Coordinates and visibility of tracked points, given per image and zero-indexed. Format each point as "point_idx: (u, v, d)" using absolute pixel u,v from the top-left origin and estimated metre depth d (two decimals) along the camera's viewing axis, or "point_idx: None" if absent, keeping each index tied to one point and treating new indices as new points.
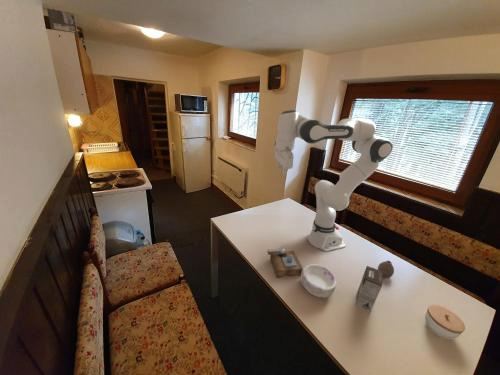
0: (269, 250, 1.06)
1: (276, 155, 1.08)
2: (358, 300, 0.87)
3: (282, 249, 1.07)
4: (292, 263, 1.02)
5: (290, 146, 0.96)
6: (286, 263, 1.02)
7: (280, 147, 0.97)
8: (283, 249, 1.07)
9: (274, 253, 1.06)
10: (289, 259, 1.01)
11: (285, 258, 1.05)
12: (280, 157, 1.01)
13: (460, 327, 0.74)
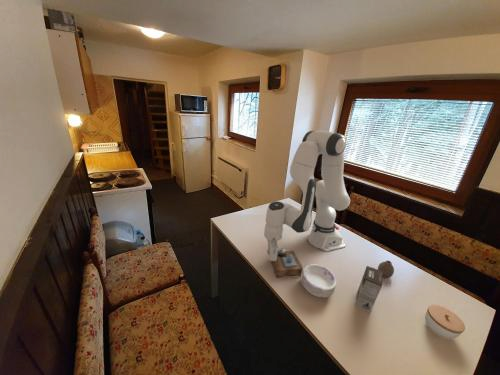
0: None
1: None
2: (358, 300, 0.87)
3: (282, 249, 1.07)
4: (292, 263, 1.02)
5: (276, 237, 0.96)
6: (286, 263, 1.02)
7: (267, 237, 0.97)
8: (283, 249, 1.07)
9: None
10: (289, 259, 1.01)
11: (285, 258, 1.05)
12: (268, 243, 1.02)
13: (460, 327, 0.74)
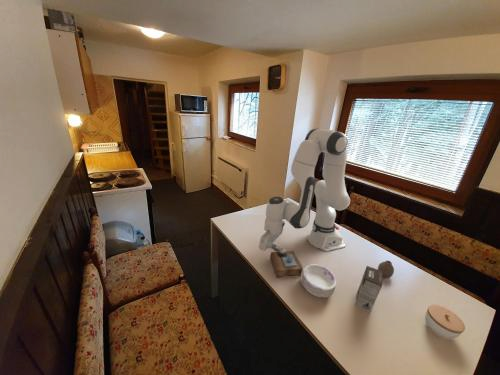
0: None
1: None
2: (358, 300, 0.87)
3: (282, 249, 1.07)
4: (292, 263, 1.02)
5: (271, 230, 1.01)
6: (286, 263, 1.02)
7: (264, 227, 1.04)
8: (283, 249, 1.07)
9: (274, 248, 1.10)
10: (289, 259, 1.01)
11: (285, 258, 1.05)
12: None
13: (460, 327, 0.74)
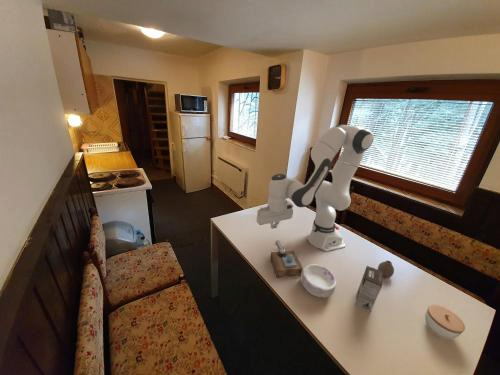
0: (277, 241, 1.14)
1: None
2: (358, 300, 0.87)
3: (282, 249, 1.07)
4: (292, 263, 1.02)
5: (270, 207, 1.00)
6: (286, 263, 1.02)
7: None
8: (282, 249, 1.07)
9: (277, 245, 1.12)
10: (289, 259, 1.01)
11: (285, 258, 1.05)
12: None
13: (460, 327, 0.74)
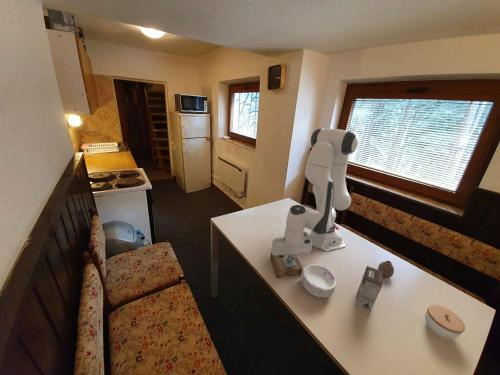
0: None
1: None
2: (358, 300, 0.87)
3: None
4: (292, 263, 1.02)
5: (286, 239, 0.95)
6: (286, 263, 1.02)
7: None
8: None
9: None
10: (289, 259, 1.01)
11: None
12: None
13: (460, 327, 0.74)
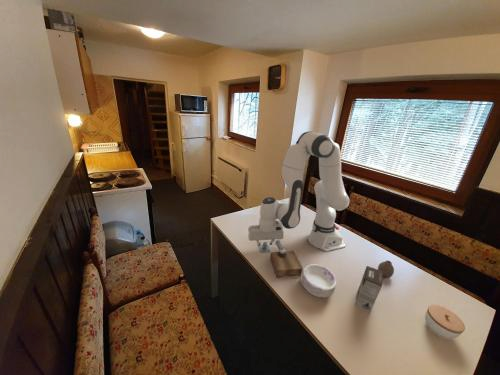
0: (277, 241, 1.14)
1: None
2: (358, 300, 0.87)
3: (282, 249, 1.07)
4: (266, 250, 1.18)
5: (260, 226, 1.11)
6: (261, 250, 1.18)
7: None
8: (282, 249, 1.07)
9: (277, 245, 1.12)
10: (264, 246, 1.18)
11: (261, 246, 1.21)
12: None
13: (460, 327, 0.74)
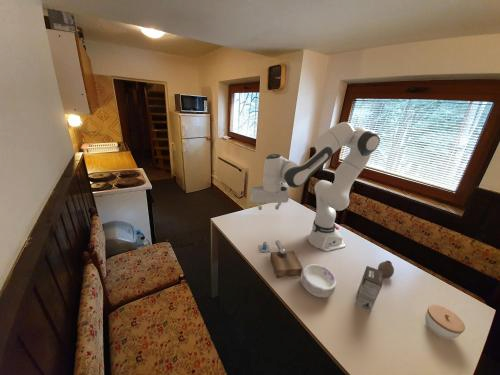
0: (277, 241, 1.14)
1: None
2: (358, 300, 0.87)
3: (282, 249, 1.07)
4: (266, 250, 1.18)
5: (263, 186, 1.01)
6: (261, 250, 1.18)
7: None
8: (282, 249, 1.07)
9: (277, 245, 1.12)
10: (264, 246, 1.18)
11: (261, 246, 1.21)
12: None
13: (460, 327, 0.74)
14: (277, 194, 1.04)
